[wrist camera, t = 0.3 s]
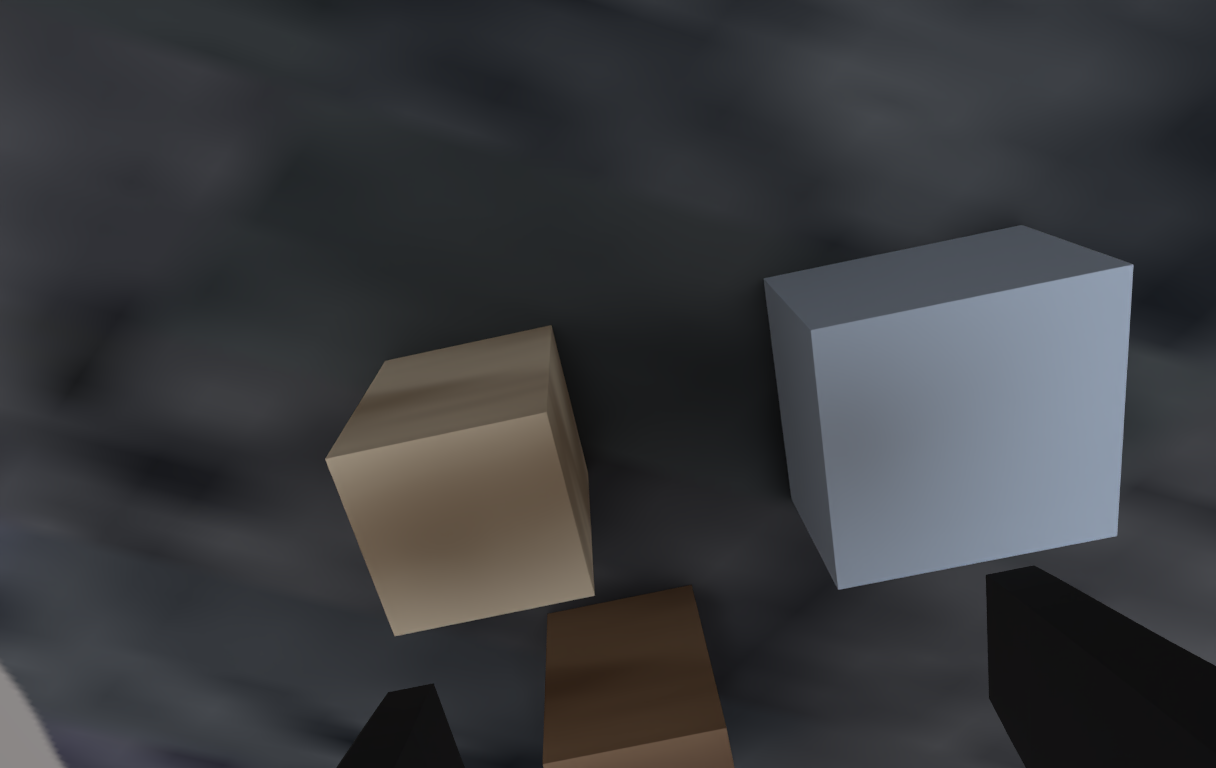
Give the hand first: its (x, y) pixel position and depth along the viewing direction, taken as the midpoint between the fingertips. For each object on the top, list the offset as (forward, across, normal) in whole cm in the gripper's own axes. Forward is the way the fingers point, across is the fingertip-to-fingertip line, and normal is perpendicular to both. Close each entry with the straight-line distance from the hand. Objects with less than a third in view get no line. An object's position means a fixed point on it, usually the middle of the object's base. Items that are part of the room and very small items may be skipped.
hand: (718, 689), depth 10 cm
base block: (+10, -6, +1) cm, 12 cm away
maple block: (+10, +4, 0) cm, 10 cm away
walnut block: (+10, +2, +8) cm, 13 cm away
